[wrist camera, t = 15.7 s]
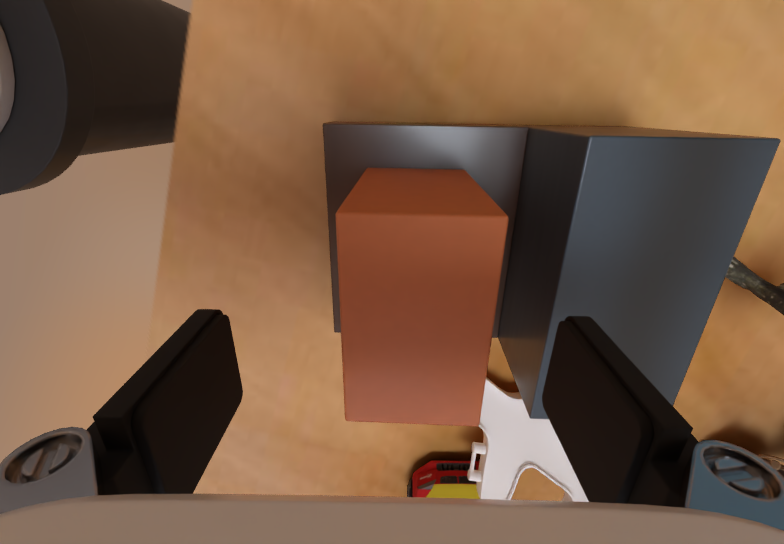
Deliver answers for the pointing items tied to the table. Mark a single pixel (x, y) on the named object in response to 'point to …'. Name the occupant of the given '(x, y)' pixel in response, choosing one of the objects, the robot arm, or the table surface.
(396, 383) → the packet
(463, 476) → the toy car
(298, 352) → the table surface
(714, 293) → the display shelf
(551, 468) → the airplane toy
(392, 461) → the table surface
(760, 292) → the statue
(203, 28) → the table surface
